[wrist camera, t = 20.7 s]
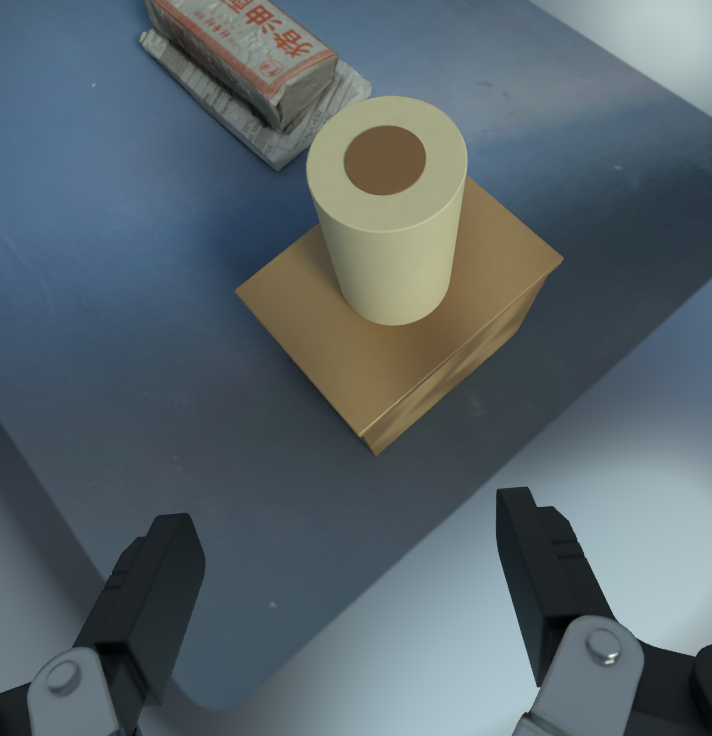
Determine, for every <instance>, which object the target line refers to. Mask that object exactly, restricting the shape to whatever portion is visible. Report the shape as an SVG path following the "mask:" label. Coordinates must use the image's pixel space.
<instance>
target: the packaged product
mask: <svg viewBox="0 0 712 736" xmlns="http://www.w3.org/2000/svg"><path fill="white" fill-rule="evenodd" d="M144 6H145V7H146V8H147V9H148V14H149V17H150V20H151V22H152V24H153V26H154V27H153V28H152V29H151V30H149V31H147V32H143V34H142V36H141V38H140V41H139V42H140V43H141V44H142V46H143V47H144V48H145V50H146V51H147V52H148V53H149V54H150V55H151V56H152V57H153V58H154V59H156V60H157V61H158V62H159V63H160V64H161V65H162V66H163V67H164V68H166V70H167V71H168V72H169V73H170V74H171V75H172V76H173V77H174V78H175V79H176V80H177V81H178V82H179V83H180V84H181V85H182V86H183V87H184V88H185V89H186V90H187V91H188V92H189V93H190V94H191V96H192V97H193V98H194V99H195V100H196V101H197V102H198V103H199V104H200V105H201V106H202V107H203V108H204V109H205V110H206V111H207V112H209V113H210V114H211V115H212V116H213V117H214V118H215V119H217V120H218V121H219V122H220V123H221V124H222V125H224V126H225V127H226V128H227V129H228V130H229V131H230V132H232V133H233V134H234V135H235V136H236V137H237V138H239V139H240V140H241V141H242V142H243V143H244V144H245V145H247V146H248V147H249V148H250V149H251V150H252V151H254V152H255V153H256V154H257V155H258V156H259V157H261V158H262V159H263V160H264V161H265V162H266V163H268V164H269V165H270V166H271V167H272V168H274V169H275V170H276V171H277V172H279V171H280V170H281V169H282V168H283V167H284V166H286V165H287V164H288V163H289V162H290V161H291V160H293V159H294V158H295V157H296V156H297V155H299V154H300V153H301V152H302V151H303V150H304V149H306V148H307V147H308V146H309V145H310V144H311V143H312V142H313V140H314V138H315V136H316V135H317V133H318V132H319V130H320V129H321V128H322V127H323V126H324V124H325V123H326V122H327V121H328V120H329V119H331V118H332V117H333V116H334V115H335V114H337V113H338V112H340V111H341V110H343V109H344V108H346V107H348V106H350V105H352V104H354V103H357V102H359V101H362V100H365V99H367V98H368V97H369V96H370V95H371V89H372V83H371V82H369V81H367V80H366V79H364V78H363V77H362V76H360V75H359V74H358V73H357V72H356V70H355V69H353V68H352V67H350V66H349V65H347V64H346V63H345V62H343V61H341V60H340V59H339V56H338V54H337V53H336V52H334V51H333V50H332V49H331V48H330V47H329V46H328V45H326V44H324V43H323V42H322V41H321V40H320V39H318V38H317V37H316V36H314V35H313V34H312V33H310V32H309V31H308V30H307V29H306V28H304V27H303V26H302V25H301V24H299V23H298V22H297V21H295V20H294V19H292V18H291V17H290V16H288V15H287V14H286V13H285V12H283V11H282V10H281V9H280V8H278V7H277V6H276V5H274V4H273V3H272V2H270V1H269V0H144Z"/></svg>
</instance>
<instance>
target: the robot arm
mask: <svg viewBox="0 0 712 736" xmlns="http://www.w3.org/2000/svg"><path fill="white" fill-rule="evenodd" d="M496 539H497V547H498V552H499V557H500V560H501V564H502V567H503V571H504V574H505V578H506V581H507V585H508V588H509V592H510V595H511V598H512V602H513V605H514V609H515V612H516V615H517V619H518V623H519V626H520V630H521V633H522V637H523V640H524V643H525V647H526V650H527V654H528V657H529V660H530V664H531V668H532V671H533V675H534V678H535V682H536V685H537V687H541V688H540V690H539V692H538V695H537V697H536V699H535V701H534V704H533V706H532V708H531V709H530V711H529V712H528V713H527V712H525V713H524V714H523V715H522V717H521V718H520V720H519V722H518V723H517V726H516V728H515V730H514V732H513V734H512V736H712V645H709V646H706V647H704V648H702V649H701V650H700V651H699V652H698V654H697V655H696V657H694V656H689V655H686V654H682V653H677V652H673V651H668V650H665V649H661V648H657V647H654V646H651V645H649V644H646V643H644V642H642V641H641V640H639V639H637V638H636V637H635V636H634V635H633V634H632V633H631V632H630V631H629V630H628V629H627V628H626V627H624V626H623V625H621V624H620V623H619V622H618V621H617V619H616V618H615V617H614V615H613V613H612V611H611V609H610V607H609V605H608V603H607V601H606V599H605V596H604V594H603V592H602V590H601V588H600V586H599V584H598V582H597V580H596V578H595V575H594V574H593V571H592V569H591V567H590V565H589V563H588V561H587V558H585V556H584V552H583V550H582V548H581V546H580V544H579V543H578V541H577V537H576V535H575V533H574V531H573V529H572V527H571V525H570V523H569V521H568V520H567V519H566V518H565V517H564V516H563V515H562V514H560V513H559V512H558V511H557V510H556V509H555V508H554V507H553V506H548V507H537V506H536V504H535V501H534V499H533V497H532V494H531V492H530V490H529V488H528V487H515V488H504V489H497V494H496ZM204 574H205V556H204V552H203V549H202V546H201V544H200V541H199V538H198V535H197V533H196V530H195V527H194V524H193V522H192V519H191V517H190V515H189V514H188V513H180V514H167V515H158V516H157V517H156V518H155V519H154V521H153V523H152V525H151V527H150V529H149V531H148V533H147V535H146V537H137V538H136V539H135V540H134V542H133V543H132V544H131V545H130V546H129V547H128V548H127V549H126V550H125V551H124V552H123V553H122V554H121V556H120V558H119V560H118V562H117V563H116V565H115V567H114V569H113V571H112V575H110V577H109V579H108V580H107V582H106V584H105V589H104V590H102V592H101V594H100V596H99V597H98V599H97V601H96V603H95V605H94V607H93V609H92V611H91V613H90V615H89V616H88V618H87V620H86V622H85V624H84V626H83V628H82V630H81V631H80V633H79V635H78V637H77V639H76V641H75V643H74V645H73V646H72V648H71V649H69V650H66V651H64V652H62V653H60V654H58V655H57V656H55V657H54V658H52V659H51V660H50V661H49V662H47V663H46V664H45V665H44V666H43V667H42V669H40V671H39V672H38V673H37V675H36V676H35V677H34V679H33V681H32V682H29V683H27V684H24V685H21V686H19V687H16V688H13V689H11V690H8V691H5V692H2V693H0V736H142V733H141V730H140V727H139V725H138V723H137V721H138V719H139V716H140V713H141V710H142V707H143V706H161V704H162V701H163V698H164V695H165V692H166V689H167V686H168V683H169V680H170V677H171V674H172V671H173V668H174V665H175V662H176V659H177V656H178V653H179V650H180V647H181V644H182V641H183V638H184V635H185V632H186V629H187V626H188V623H189V620H190V617H191V614H192V611H193V608H194V605H195V602H196V599H197V596H198V593H199V590H200V587H201V584H202V581H203V578H204Z"/></svg>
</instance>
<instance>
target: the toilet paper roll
mask: <svg viewBox="0 0 712 736" xmlns="http://www.w3.org/2000/svg"><path fill="white" fill-rule="evenodd" d="M467 162H468V160H467V150H466V145H465V142H464V139H463V137H462V135H461V133H460V131H459V129H458V128H457V126H456V125H455V124H454V122H453V121H452V120H451V119H450V118H449V117H448V116H447V115H446V114H445V113H443V112H442V111H441V110H439V109H438V108H436V107H434V106H433V105H431V104H429V103H426V102H424V101H421V100H418V99H414V98H410V97H404V96H380V97H374V98H369V99H366V100H362V101H359V102H357V103H354V104H352V105H350V106H348V107H346V108H344V109H343V110H341V111H340V112H338V113H337V114H335V115H334V116H333V117H332V118H331V119H329V120H328V121H327V122H326V123H325V124H324V126H323V127H322V128H321V129H320V130H319V132H318V133H317V135H316V136H315V138H314V140H313V142H312V144H311V147H310V149H309V152H308V156H307V162H306V177H307V182H308V186H309V190H310V193H311V196H312V199H313V202H314V205H315V209H316V212H317V215H318V218H319V221H320V224H321V228H322V231H323V234H324V237H325V240H326V243H327V247H328V250H329V253H330V256H331V259H332V263H333V266H334V269H335V272H336V275H337V278H338V282H339V285H340V288H341V291H342V294H343V296H344V298H345V300H346V301H347V303H348V304H349V306H350V307H351V308H352V309H353V310H354V311H355V312H356V313H357V314H359V315H360V316H362V317H363V318H365V319H367V320H369V321H371V322H374V323H377V324H382V325H390V326H396V325H405V324H409V323H412V322H415V321H417V320H420V319H422V318H423V317H425V316H427V315H428V314H429V313H431V312H432V311H433V310H434V309H435V308H436V307H437V306H438V305H439V304H440V302H441V301H442V300H443V298H444V296H445V295H446V292H447V290H448V287H449V283H450V277H451V270H452V264H453V257H454V250H455V244H456V237H457V231H458V224H459V218H460V211H461V205H462V198H463V191H464V185H465V178H466V172H467Z"/></svg>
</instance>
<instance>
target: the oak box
mask: <svg viewBox="0 0 712 736" xmlns="http://www.w3.org/2000/svg"><path fill="white" fill-rule="evenodd" d="M562 260H563V257H562V256H561V255H559V254H558V253H557V252H556V251H555V250H554V249H552V248H551V247H550V246H549V245H548V244H547V243H545V242H544V241H543V240H542V239H541V238H540V237H538V236H537V235H536V234H535V233H534V232H533V231H531V230H530V229H529V228H528V227H527V226H526V225H524V224H523V223H522V222H521V221H520V220H519V219H517V218H516V217H515V216H514V215H513V214H512V213H511V212H509V211H508V210H507V209H506V208H505V207H504V206H502V205H501V204H500V203H499V202H498V201H497V200H495V199H494V198H493V197H492V196H491V195H490V194H488V193H487V192H486V191H485V190H484V189H483V188H481V187H480V186H479V185H478V184H477V183H476V182H474V181H473V180H472V179H471V178H470V177H469V176H467V175H466V178H465V185H464V191H463V198H462V205H461V211H460V218H459V224H458V231H457V237H456V244H455V250H454V257H453V264H452V270H451V277H450V283H449V287H448V290H447V292H446V295H445V296H444V298H443V300H442V301H441V302H440V304H439V305H438V306H437V307H436V308H435V309H434V310H433V311H432V312H431V313H429V314H428V315H427V316H425V317H423V318H422V319H420V320H417V321H415V322H412V323H409V324H405V325H396V326H390V325H382V324H377V323H374V322H371V321H369V320H367V319H365V318H363V317H362V316H360V315H359V314H357V313H356V312H355V311H354V310H353V309H352V308H351V307H350V306H349V304H348V303H347V301H346V300H345V298H344V296H343V294H342V291H341V288H340V285H339V282H338V278H337V275H336V272H335V269H334V266H333V263H332V259H331V256H330V253H329V250H328V247H327V243H326V240H325V237H324V234H323V231H322V228H321V224H320V222H319V223H318V224H317V225H315V226H314V227H313V228H312V229H310V230H309V231H308V232H307V233H305V234H304V235H303V236H302V237H300V238H299V239H298V240H297V241H295V242H294V243H293V244H292V245H290V246H289V247H288V248H287V249H285V250H284V251H283V252H282V253H280V254H279V255H278V256H277V257H275V258H274V259H273V260H272V261H270V262H269V263H268V264H267V265H265V266H264V267H263V268H262V269H260V270H259V271H258V272H257V273H255V274H254V275H253V276H252V277H250V278H249V279H248V280H247V281H245V282H244V283H243V284H242V285H240V286H239V287H238V288H237V289H235V291H234V292H235V293H236V295H237V296H238V297H239V298H240V299H241V301H242V302H243V303H244V304H245V305H246V306H247V308H248V309H249V310H250V311H251V312H252V313H253V315H254V316H255V317H256V318H257V319H258V320H259V321H260V323H261V324H262V325H263V326H264V327H265V328H266V330H267V331H268V332H269V333H270V334H271V335H272V337H273V338H274V339H275V340H276V341H277V342H278V344H279V345H280V346H281V347H282V348H283V349H284V351H285V352H286V353H287V354H288V356H289V357H290V358H291V359H292V360H293V361H294V363H295V364H296V365H297V366H298V367H299V368H300V369H301V371H302V372H303V373H304V374H305V375H306V376H307V378H308V379H309V380H310V381H311V382H312V383H313V385H314V386H315V387H316V388H317V389H318V390H319V392H320V393H321V394H322V395H323V396H324V397H325V399H326V400H327V401H328V402H329V403H330V404H331V406H332V407H333V408H334V409H335V410H336V411H337V413H338V414H339V415H340V416H341V417H342V418H343V420H344V421H345V422H346V423H347V424H348V425H349V427H350V428H351V429H352V430H353V431H354V432H355V434H356V435H357V436H358V437H359V438H360V439H361V440H362V442H363V443H364V444H365V445H366V446H367V447H368V449H369V450H370V451H371V452H372V453H373V454H374V456H377V455H378V454H379V453H380V452H381V451H382V450H384V449H385V448H386V447H387V446H388V445H389V444H390V443H392V442H393V441H394V440H395V439H396V438H397V437H398V436H400V435H401V434H402V433H403V432H404V431H405V430H406V429H407V428H409V427H410V426H411V425H412V424H413V423H414V422H415V421H417V420H418V419H419V418H420V417H421V416H422V415H423V414H425V413H426V412H427V411H428V410H429V409H430V408H431V407H433V406H434V405H435V404H436V403H437V402H438V401H439V400H441V399H442V398H443V397H444V396H445V395H446V394H447V393H449V392H450V391H451V390H452V389H453V388H454V387H455V386H457V385H458V384H459V383H460V382H461V381H462V380H463V379H465V378H466V377H467V376H468V375H469V374H470V373H471V372H472V371H474V370H475V369H476V368H477V367H478V366H479V365H480V364H482V363H483V362H484V361H485V360H486V359H487V358H488V357H490V356H491V355H492V354H493V353H494V352H495V351H496V350H498V349H499V348H500V347H501V346H502V345H503V344H504V343H506V342H507V341H508V340H509V339H510V338H511V337H512V336H514V335H515V334H516V332H517V330H518V328H519V327H520V325H521V323H522V321H523V319H524V317H525V316H526V314H527V312H528V310H529V308H530V306H531V305H532V303H533V301H534V299H535V297H536V296H537V294H538V292H539V290H540V288H541V286H542V285H543V283H544V281H545V279H546V277H547V276H548V274H549V273H551V272H552V271H553V270H554V269H555V268H556V267H558V266H559V265H560V264H561V262H562Z"/></svg>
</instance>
